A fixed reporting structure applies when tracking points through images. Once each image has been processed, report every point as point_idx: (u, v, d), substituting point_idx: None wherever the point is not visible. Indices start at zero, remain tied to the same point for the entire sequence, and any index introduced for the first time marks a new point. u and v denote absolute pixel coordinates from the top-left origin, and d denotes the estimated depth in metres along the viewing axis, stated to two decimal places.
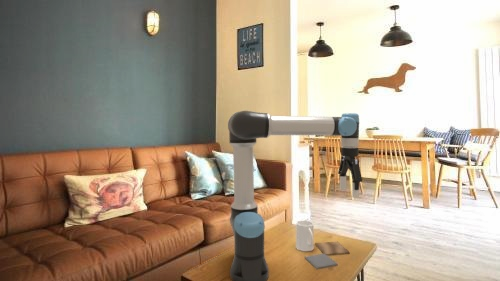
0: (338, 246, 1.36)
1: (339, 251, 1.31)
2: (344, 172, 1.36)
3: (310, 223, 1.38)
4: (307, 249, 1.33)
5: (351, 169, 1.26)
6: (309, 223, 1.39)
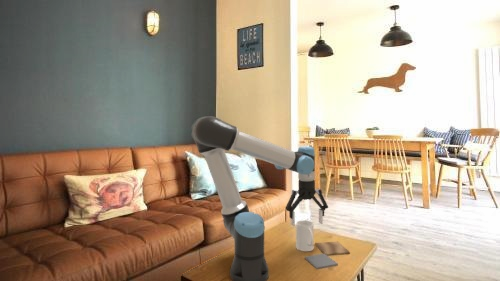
0: (338, 246, 1.36)
1: (339, 251, 1.31)
2: (318, 205, 1.35)
3: (310, 223, 1.38)
4: (307, 249, 1.33)
5: (296, 199, 1.35)
6: (309, 223, 1.39)
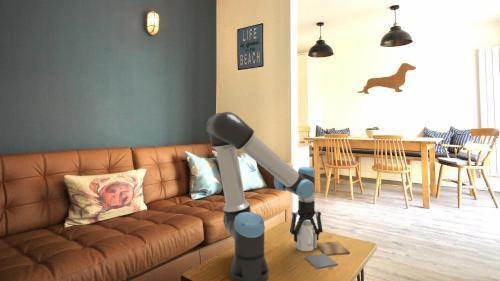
0: (338, 246, 1.36)
1: (339, 251, 1.31)
2: None
3: (310, 223, 1.38)
4: (307, 249, 1.33)
5: (298, 221, 1.35)
6: (309, 223, 1.39)
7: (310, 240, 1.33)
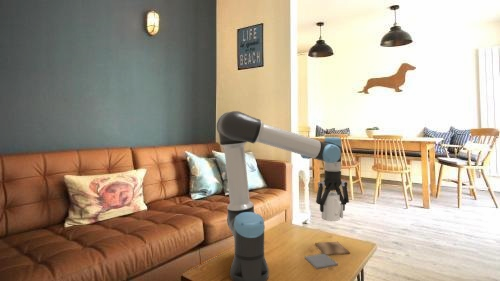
0: (338, 246, 1.36)
1: (339, 251, 1.31)
2: (340, 198, 1.34)
3: (336, 194, 1.37)
4: (334, 219, 1.32)
5: (324, 191, 1.34)
6: (335, 194, 1.38)
7: (337, 210, 1.32)
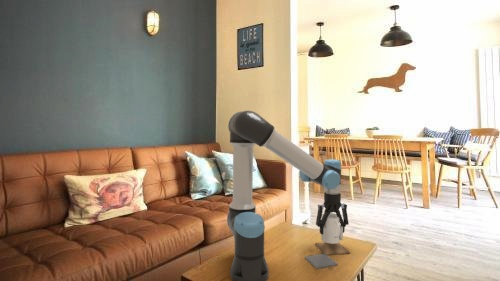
0: (338, 246, 1.36)
1: (339, 251, 1.31)
2: (339, 220, 1.35)
3: (335, 215, 1.38)
4: (334, 241, 1.33)
5: None
6: (334, 216, 1.38)
7: (336, 232, 1.33)
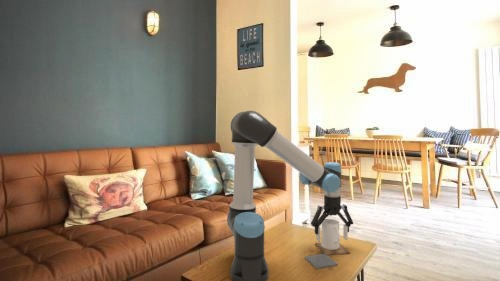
0: None
1: (339, 251, 1.31)
2: (343, 221, 1.35)
3: (335, 221, 1.38)
4: (333, 247, 1.33)
5: None
6: (334, 221, 1.39)
7: (336, 238, 1.33)
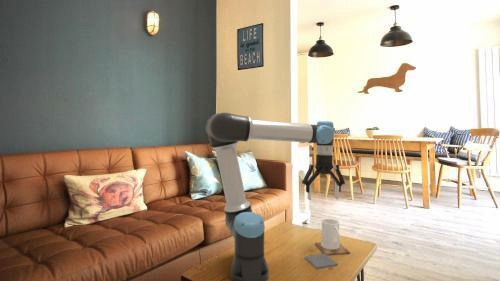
0: None
1: (339, 251, 1.31)
2: (335, 180, 1.35)
3: (335, 221, 1.38)
4: (333, 247, 1.33)
5: None
6: (334, 221, 1.39)
7: (336, 238, 1.33)
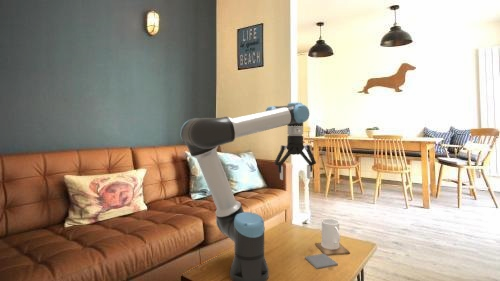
0: None
1: (339, 251, 1.31)
2: (306, 160, 1.38)
3: (335, 221, 1.38)
4: (333, 247, 1.33)
5: (285, 154, 1.38)
6: (334, 221, 1.39)
7: (336, 238, 1.33)
